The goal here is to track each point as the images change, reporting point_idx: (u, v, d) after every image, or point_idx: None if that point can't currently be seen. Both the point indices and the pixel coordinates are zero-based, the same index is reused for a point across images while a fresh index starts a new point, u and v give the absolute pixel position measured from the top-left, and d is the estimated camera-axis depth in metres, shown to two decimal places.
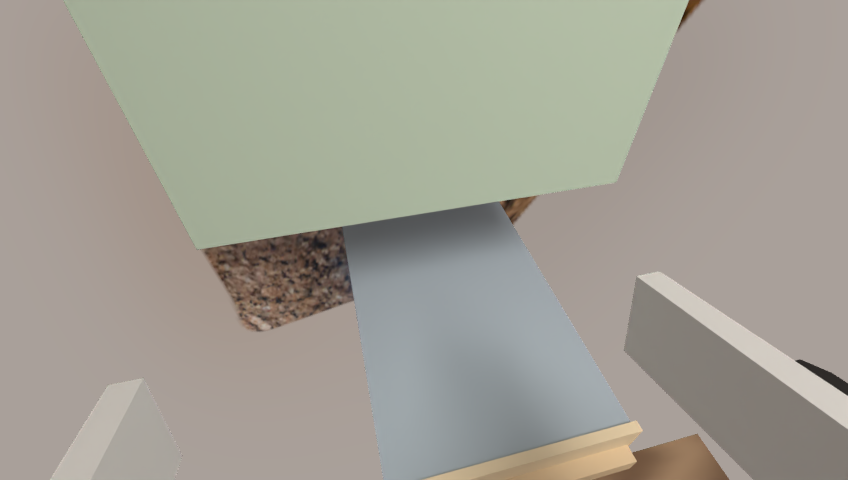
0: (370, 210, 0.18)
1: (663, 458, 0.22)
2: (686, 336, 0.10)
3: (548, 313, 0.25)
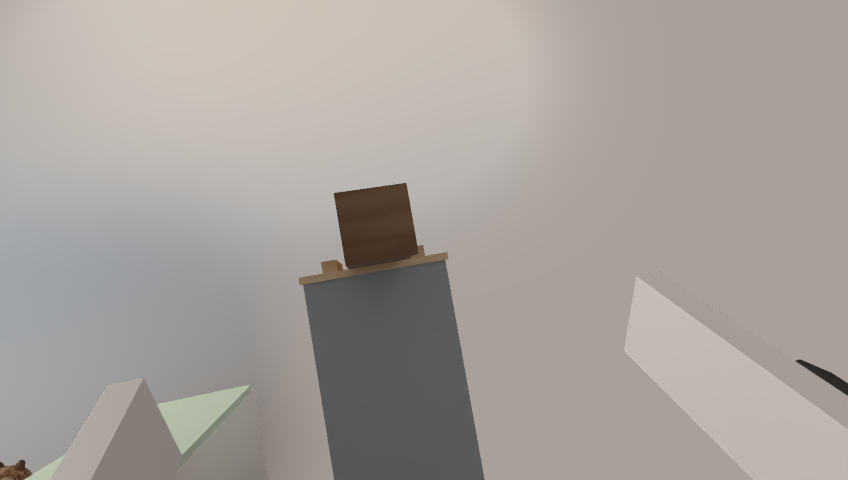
0: (195, 433, 0.28)
1: None
2: (687, 336, 0.10)
3: None
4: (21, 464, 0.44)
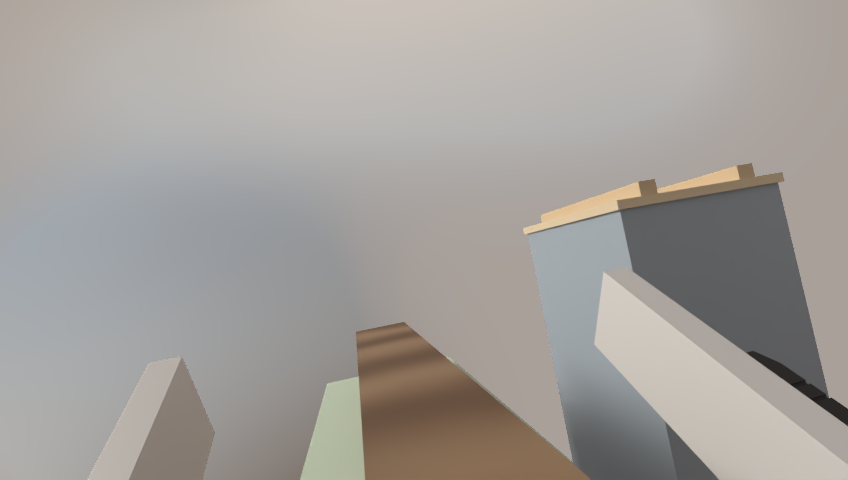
0: None
1: None
2: (647, 329, 0.11)
3: (550, 319, 0.32)
4: None
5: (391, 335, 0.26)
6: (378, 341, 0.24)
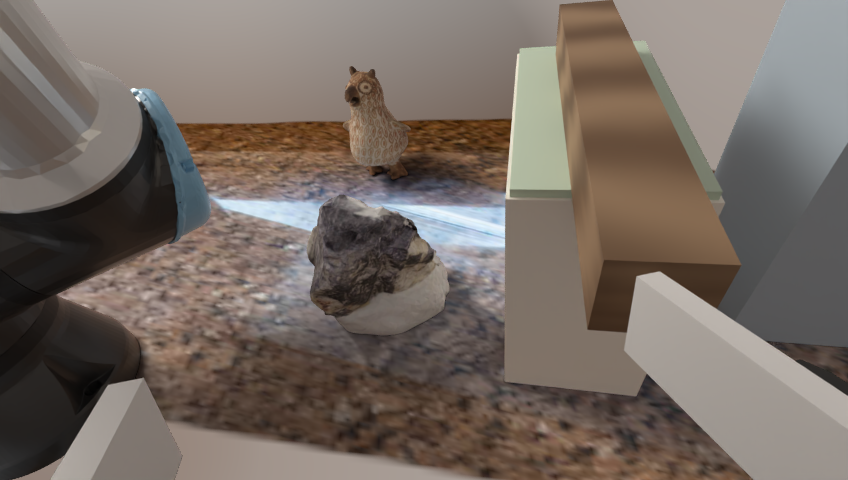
0: (670, 115, 0.25)
1: (557, 59, 0.31)
2: (686, 336, 0.10)
3: (785, 20, 0.28)
4: (373, 73, 0.49)
5: (599, 25, 0.27)
6: (586, 33, 0.26)
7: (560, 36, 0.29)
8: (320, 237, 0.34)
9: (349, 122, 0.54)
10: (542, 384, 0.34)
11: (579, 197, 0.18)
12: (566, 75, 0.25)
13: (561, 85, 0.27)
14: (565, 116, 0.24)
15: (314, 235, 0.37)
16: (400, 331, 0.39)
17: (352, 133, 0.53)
